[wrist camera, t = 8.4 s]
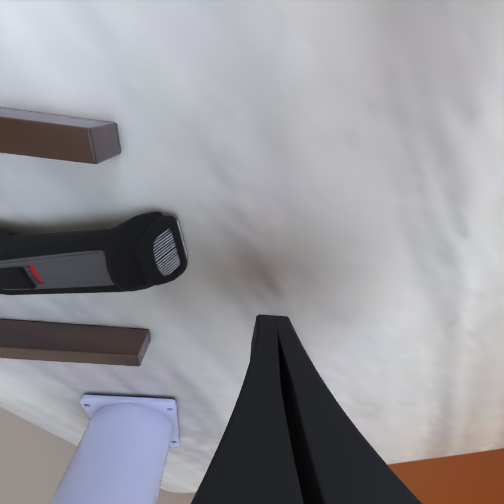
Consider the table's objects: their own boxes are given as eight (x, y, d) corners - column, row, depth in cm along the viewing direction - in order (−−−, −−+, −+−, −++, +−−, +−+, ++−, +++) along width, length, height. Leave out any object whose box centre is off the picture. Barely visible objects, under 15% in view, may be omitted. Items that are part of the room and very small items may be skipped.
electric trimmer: (-127, 223, 12) (-232, 258, 10) (175, 204, 12) (152, 237, 9) (-68, 280, 14) (-142, 322, 12) (190, 267, 14) (175, 308, 11)
